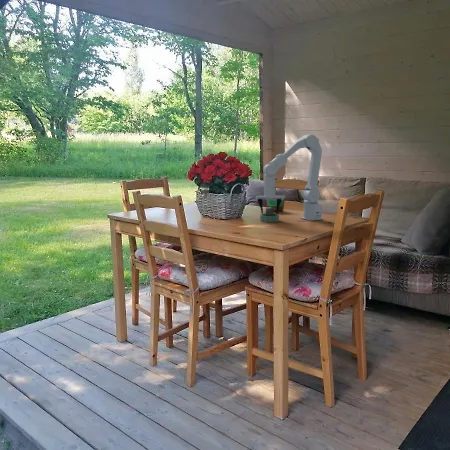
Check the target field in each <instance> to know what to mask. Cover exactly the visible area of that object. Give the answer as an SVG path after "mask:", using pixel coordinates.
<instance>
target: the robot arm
mask: <svg viewBox="0 0 450 450" xmlns="http://www.w3.org/2000/svg"><path fill="white" fill-rule="evenodd" d="M300 149H307V150H308V151H309V152H310V154H311V157H310V161H309V170H308V177H307V183H306V185H305V188H304V190H303V192H302V198H303V199H304V200H303V216H300V219H302V220H308V221H317V220H318V221H319V220H323V218H324V217H322V216H323V215H322V214H323V213H322V212H323V207H322V204H320V203H319V199H320V191H319V190H320V189H319V185H318V184H319V175H320V169H321V163H322V156H323V155H322V154H323V150H322V147H321V144H320V139H319V138H318V137H317V136H316V135H315V134H304V135H302V136H301V137H300V138H298V139H296V141H295V142H294V143H292V145H290V146H289V148H287V150H285V151H284V153H279V154H276V155H275V158H273V159H272V160H271V161H269V162H268V163H267V164H265V165H264V166H263V168H262V172H263V174H264V178H263V181H264V182H263V183H264V184H263V193H264V194H263V195H255V200H256V201H257V203H258V205H259V208H260V211H261V214H264V210H263V201H265V200H266V201H267V200H277V208H276V212H275V214H279V212H278V209H279V206H280V204H281V201H282V200H284V196H275V195H276V175H277V172H278V171H280V169H281V168H282V167H283V166H285V164H287V163H288V159H289V158H290V157H291V156H292V155H293V154H295V153H296V152H297V151H298V150H300ZM266 198H273V199H266Z"/></svg>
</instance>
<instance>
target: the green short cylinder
mask: <svg viewBox="0 0 450 450" xmlns="http://www.w3.org/2000/svg"><path fill="white" fill-rule="evenodd" d="M259 220H260V222H264V223H274V222H280V215H279V213H278V214H276V213H275V212H273V216H266V212H265V213H263V214H259Z"/></svg>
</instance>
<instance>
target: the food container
mask: <svg viewBox="0 0 450 450" xmlns="http://www.w3.org/2000/svg"><path fill="white" fill-rule="evenodd" d="M275 196H284V200H282V201H281V204H280V206H279V209H278V213H281V212H284V209H285V201H286V198H287V196H286V194H285V193H284V194H275ZM266 199H273V198H266ZM268 207H271V208H273V213H276V208H277V200H266V208H268Z"/></svg>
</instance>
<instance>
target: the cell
mask: <svg viewBox="0 0 450 450" xmlns="http://www.w3.org/2000/svg"><path fill="white" fill-rule="evenodd" d="M265 213H266V216H273V213H274V212H273V208H271V207H268V208H267V207H265Z"/></svg>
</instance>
